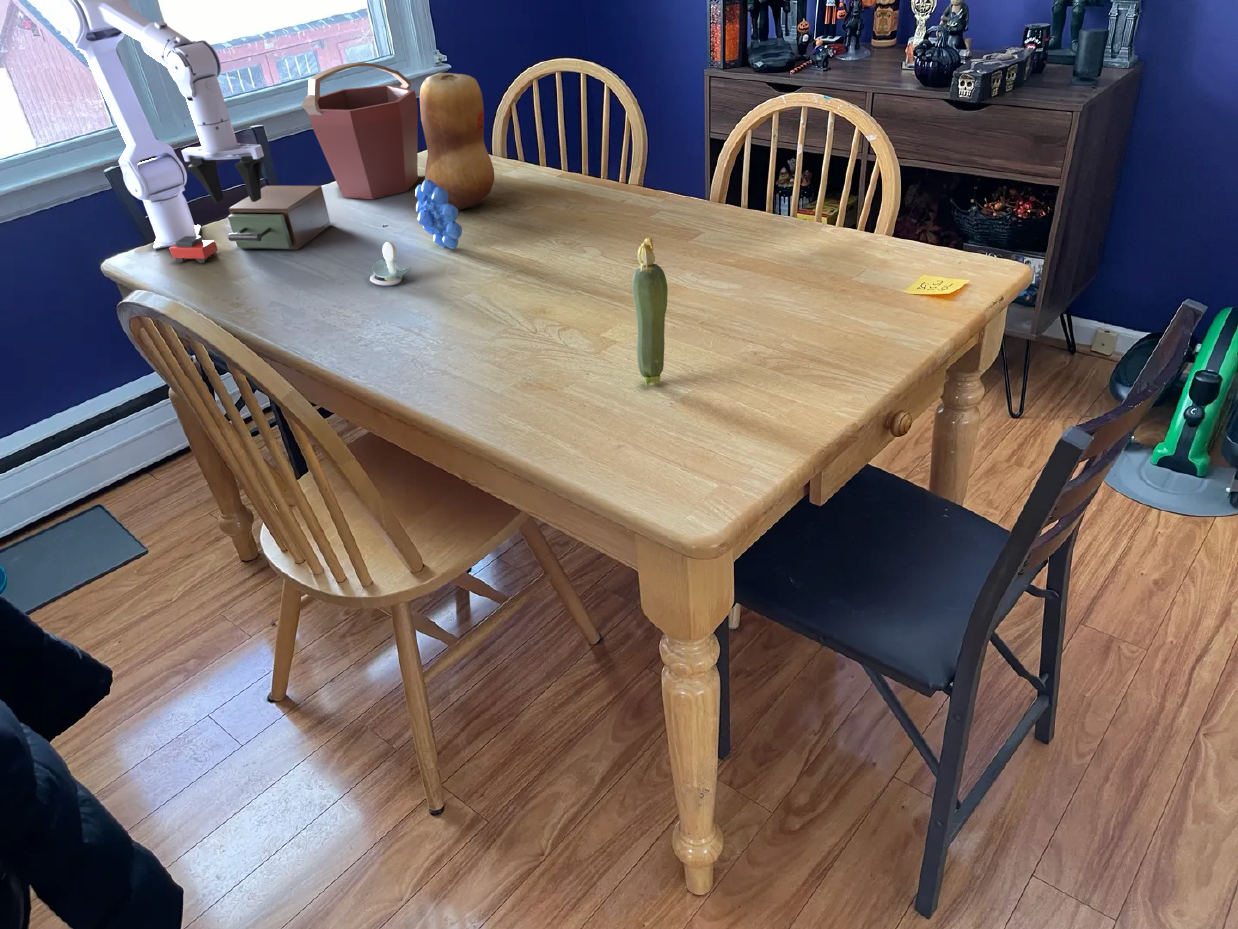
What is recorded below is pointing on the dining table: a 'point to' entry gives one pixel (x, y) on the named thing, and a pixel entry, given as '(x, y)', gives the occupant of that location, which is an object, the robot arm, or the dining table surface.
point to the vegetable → (649, 313)
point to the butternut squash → (456, 138)
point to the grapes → (437, 214)
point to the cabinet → (291, 210)
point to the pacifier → (390, 273)
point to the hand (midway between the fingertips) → (237, 200)
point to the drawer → (260, 230)
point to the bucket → (367, 134)
